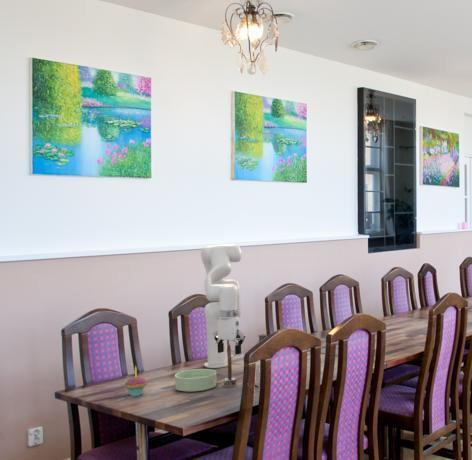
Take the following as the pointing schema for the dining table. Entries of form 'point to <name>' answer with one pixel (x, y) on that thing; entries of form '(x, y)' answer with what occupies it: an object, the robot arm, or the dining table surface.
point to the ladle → (229, 371)
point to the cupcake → (135, 385)
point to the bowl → (195, 380)
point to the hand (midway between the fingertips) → (229, 353)
